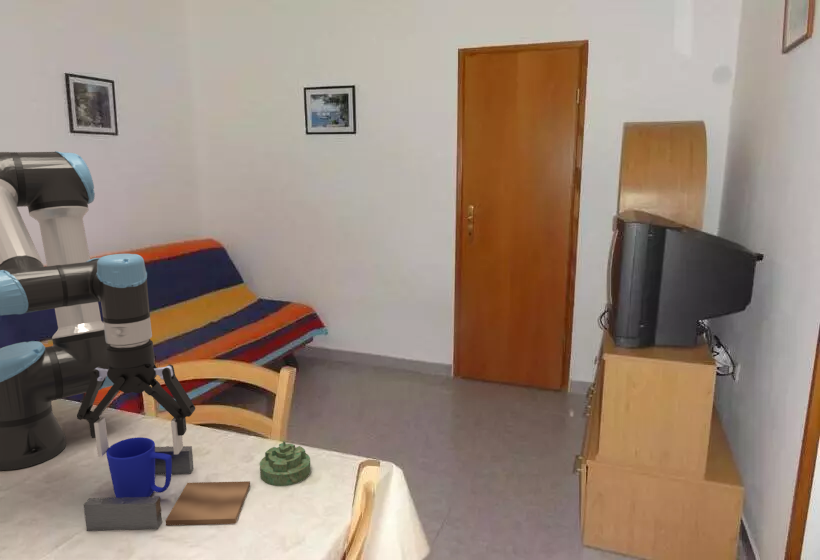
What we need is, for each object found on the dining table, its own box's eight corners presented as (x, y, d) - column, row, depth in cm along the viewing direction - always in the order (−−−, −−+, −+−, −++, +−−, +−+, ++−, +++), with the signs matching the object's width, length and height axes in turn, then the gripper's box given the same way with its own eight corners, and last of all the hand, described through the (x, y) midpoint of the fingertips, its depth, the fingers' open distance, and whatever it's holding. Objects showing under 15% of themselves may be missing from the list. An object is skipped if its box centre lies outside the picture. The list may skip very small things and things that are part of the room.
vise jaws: (139, 462, 125) (137, 440, 123) (197, 461, 125) (196, 439, 124) (86, 530, 102) (83, 504, 101) (157, 529, 103) (155, 503, 102)
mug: (160, 513, 107) (155, 463, 105) (101, 505, 109) (95, 455, 107) (186, 488, 115) (182, 441, 113) (130, 481, 117) (125, 435, 115)
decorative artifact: (253, 485, 117) (303, 488, 116) (251, 452, 115) (301, 455, 114) (269, 459, 126) (315, 462, 125) (268, 428, 125) (314, 431, 124)
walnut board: (187, 487, 115) (187, 482, 115) (250, 485, 116) (250, 481, 116) (165, 525, 104) (165, 520, 103) (235, 523, 104) (235, 518, 104)
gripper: (45, 349, 101) (61, 464, 106) (194, 346, 102) (203, 460, 107) (68, 336, 109) (82, 444, 113) (206, 334, 110) (215, 440, 114)
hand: (141, 452), depth 110 cm, fingers open, 13 cm apart
